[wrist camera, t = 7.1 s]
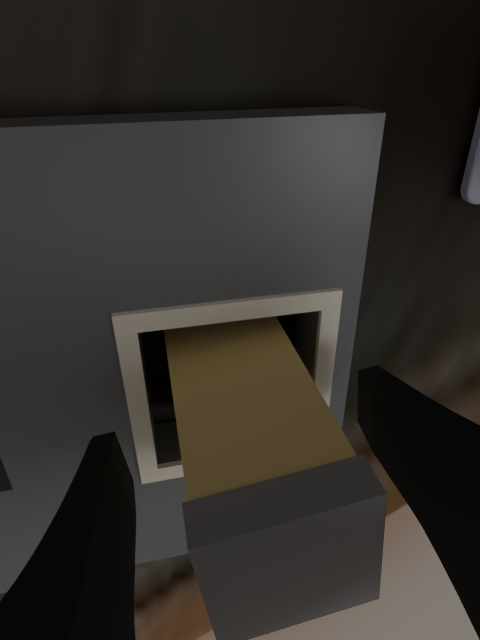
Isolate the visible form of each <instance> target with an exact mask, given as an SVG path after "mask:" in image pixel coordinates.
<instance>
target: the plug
mask: <svg viewBox="0 0 480 640" xmlns="http://www.w3.org/2000/svg"><path fill="white" fill-rule="evenodd" d="M164 336H165V343H166V351H167V358H168V365H169V372H170V380H171V387H172V394H173V401H174V409H175V416H176V423H177V431H178V438H179V445H180V452H181V460H182V467H183V474H184V481H185V489H186V496H187V502H184V503H182V509H183V517H184V525H185V533H186V541H187V549H188V553H189V556H190V559H191V562H192V565H193V568H194V572H195V575H196V578H197V581H198V584H199V587H200V590H201V593H202V596H203V600H204V603H205V606H206V609H207V612H208V615H209V618H210V621H211V624H212V628H213V631H214V633H215V637H216V640H248V639H251V638H254V637H258V636H261V635H264V634H268V633H271V632H274V631H277V630H280V629H284V628H287V627H290V626H293V625H296V624H300V623H303V622H306V621H309V620H312V619H316V618H319V617H322V616H325V615H328V614H332V613H334V612H338V611H341V610H344V609H348V608H351V607H354V606H357V605H360V604H364V603H367V602H370V601H373V600H376V599H379V592H380V579H381V566H382V554H383V540H384V528H385V515H386V502H387V493H386V491H385V490H384V488H383V486H382V485H381V483H380V481H379V480H378V478H377V476H376V475H375V473H374V471H373V470H372V468H371V466H370V465H369V463H368V461H367V460H366V458H365V456H364V455H363V454H362V455H358V456H357V455H356V453H355V452H354V450H353V448H352V446H351V445H350V443H349V441H348V440H347V438H346V436H345V434H344V433H343V431H342V429H341V427H340V426H339V424H338V422H337V421H336V419H335V417H334V415H333V414H332V412H331V410H330V409H329V407H328V405H327V403H326V402H325V400H324V398H323V396H322V395H321V393H320V391H319V390H318V388H317V386H316V384H315V383H314V381H313V379H312V378H311V376H310V374H309V372H308V371H307V369H306V367H305V366H304V364H303V362H302V360H301V359H300V357H299V355H298V353H297V352H296V350H295V348H294V347H293V345H292V343H291V341H290V340H289V338H288V336H287V335H286V333H285V331H284V329H283V328H282V326H281V324H280V323H279V321H278V319H277V317H276V316H272V317H264V318H256V319H248V320H239V321H231V322H223V323H215V324H207V325H198V326H190V327H182V328H174V329H165V330H164Z"/></svg>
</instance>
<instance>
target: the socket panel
mask: <svg viewBox="0 0 480 640" xmlns="http://www.w3.org/2000/svg"><path fill="white" fill-rule="evenodd" d="M385 116H386V113H384V112H379V111H374V110H369V109H364V108H359V107H354V106H335V107H306V108H278V109H249V110H220V111H192V112H163V113H134V114H106V115H77V116H48V117H19V118H0V593H5V592H8V590H9V589H10V587H11V586H12V584H13V583H14V582H15V580H16V579H17V577H18V576H19V574H20V573H21V571H22V570H23V568H24V567H25V565H26V564H27V562H28V561H29V559H30V557H31V556H32V554H33V553H34V551H35V549H36V548H37V546H38V544H39V543H40V541H41V539H42V538H43V536H44V534H45V532H46V530H47V529H48V527H49V525H50V523H51V521H52V520H53V518H54V516H55V514H56V512H57V510H58V509H59V507H60V505H61V503H62V501H63V499H64V497H65V495H66V493H67V491H68V489H69V487H70V484H71V482H72V480H73V478H74V476H75V474H76V472H77V469H78V467H79V465H80V463H81V460H82V458H83V456H84V453H85V451H86V449H87V446H88V444H89V441H90V440H91V438H92V437H94V436H98V435H102V434H106V433H110V432H114V431H115V433H116V436H117V439H118V441H119V444H120V446H121V449H122V452H123V454H124V457H125V459H126V462H127V464H128V467H129V470H130V472H131V475H132V477H133V480H134V491H135V503H136V549H135V565H136V564H141V563H146V562H150V561H155V560H160V559H165V558H169V557H174V556H179V555H183V554H188V549H187V541H186V533H185V525H184V517H183V509H182V503H184V502H187V496H186V489H185V481H184V474H183V467H182V460H181V452H180V445H179V438H178V431H177V423H176V421H170V422H164V423H158V424H154V419H153V412H152V405H151V398H150V391H149V384H148V377H147V371H146V364H145V357H144V350H143V343H142V336H141V332H149V331H157V330H165V329H174V328H182V327H190V326H198V325H207V324H215V323H223V322H231V321H239V320H248V319H256V318H264V317H272V316H281V315H289V314H296V321H295V338H294V348H295V350H296V352H297V353H298V355H299V357H300V359H301V360H302V362H303V364H304V366H305V367H306V369H307V371H308V372H309V374H310V376H311V378H312V379H313V381H314V383H315V384H316V386H317V388H318V390H319V391H320V393H321V395H322V396H323V398H324V400H325V402H326V403H327V405H328V407H329V409H330V410H331V412H332V414H333V415H334V417H335V419H336V421H337V422H338V424H339V426H340V427H341V429H342V425H343V417H344V410H345V403H346V396H347V389H348V381H349V374H350V367H351V360H352V353H353V346H354V338H355V331H356V324H357V317H358V310H359V303H360V295H361V288H362V281H363V274H364V267H365V259H366V252H367V245H368V238H369V231H370V224H371V216H372V209H373V202H374V195H375V188H376V180H377V173H378V166H379V159H380V152H381V145H382V137H383V130H384V123H385Z"/></svg>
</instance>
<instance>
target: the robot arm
mask: <svg viewBox="0 0 480 640" xmlns="http://www.w3.org/2000/svg"><path fill="white" fill-rule="evenodd" d="M461 196H462V199H464V200H465V201H466V202H469V203H471V204H476V205H477V204H480V108H479V113H478V117H477V121H476V125H475V130H474V134H473V138H472V143H471V147H470V151H469V155H468V160H467V164H466V168H465V172H464V177H463V181H462V185H461ZM357 421H358V423H359V425H360V427H361V429H362V431H363V433H364V435H365V437H366V439H367V441H368V443H369V445H370V447H371V449H372V451H373V452H374V454H375V456H376V457H377V459H378V460H379V462H380V463H381V465H382V466H383V468H384V469H385V471H386V472H387V474H388V475H389V477H390V478H391V480H392V481H393V483H394V484H395V486H396V487H397V489H398V490H399V492H400V493H401V495H402V496H403V498H404V499H405V501H406V502H407V504H408V505H409V507H410V508H411V510H412V511H413V513H414V514H415V516H416V517H417V519H418V521H419V522H420V524H421V526H422V527H423V529H424V530H425V533H426V535H427V536H428V538H429V540H430V542H431V544H432V546H433V547H434V549H435V551H436V553H437V555H438V557H439V559H440V561H441V562H442V564H443V566H444V568H445V570H446V572H447V574H448V576H449V578H450V580H451V582H452V584H453V586H454V588H455V590H456V592H457V594H458V596H459V597H460V600H461V602H462V604H463V606H464V608H465V610H466V612H467V614H468V616H469V618H470V621H471V623H472V625H473V627H474V629H475V631H476V633H477V635H478V637H479V639H480V425H478V424H476V423H474V422H472V421H470V420H468V419H466V418H464V417H463V416H461V415H459V414H457V413H455V412H453V411H451V410H450V409H448V408H446V407H444V406H442V405H441V404H439V403H437V402H435V401H434V400H432V399H430V398H429V397H427V396H425V395H424V394H422V393H420V392H419V391H417V390H416V389H414V388H412V387H411V386H409V385H408V384H406V383H404V382H403V381H401V380H400V379H398V378H397V377H395V376H393V375H392V374H390V373H389V372H387V371H385V370H384V369H382V368H381V367H379V366H373V367H369V368H365V369H361V370H358V419H357ZM135 549H136V503H135V491H134V480H133V477H132V475H131V472H130V470H129V467H128V464H127V462H126V459H125V457H124V454H123V452H122V449H121V446H120V444H119V441H118V439H117V436H116V433H115V431H114V432H110V433H106V434H102V435H98V436H94V437H92V438H91V440H90V441H89V444H88V446H87V449H86V451H85V453H84V456H83V458H82V460H81V463H80V465H79V467H78V469H77V472H76V474H75V476H74V478H73V480H72V482H71V484H70V487H69V489H68V491H67V493H66V495H65V497H64V499H63V501H62V503H61V505H60V507H59V509H58V510H57V512H56V514H55V516H54V518H53V520H52V521H51V523H50V525H49V527H48V529H47V530H46V532H45V534H44V536H43V538H42V539H41V541H40V543H39V544H38V546H37V548H36V549H35V551H34V553H33V554H32V556H31V557H30V559H29V561H28V562H27V564H26V565H25V567H24V568H23V570H22V571H21V573H20V574H19V576H18V577H17V579H16V580H15V582H14V583H13V584H12V586H11V587H10V589H9V590H8V592H7V593H6V594H5V596H4V597H3V599H2V600H1V601H0V640H135V625H134V578H135Z"/></svg>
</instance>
